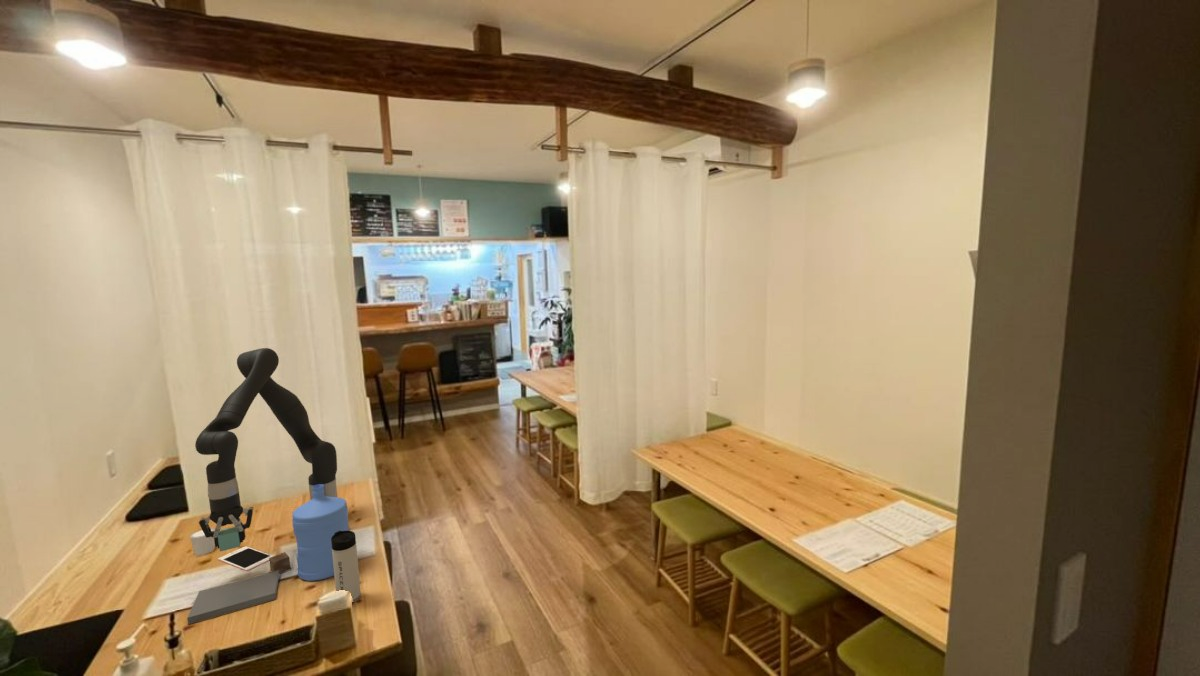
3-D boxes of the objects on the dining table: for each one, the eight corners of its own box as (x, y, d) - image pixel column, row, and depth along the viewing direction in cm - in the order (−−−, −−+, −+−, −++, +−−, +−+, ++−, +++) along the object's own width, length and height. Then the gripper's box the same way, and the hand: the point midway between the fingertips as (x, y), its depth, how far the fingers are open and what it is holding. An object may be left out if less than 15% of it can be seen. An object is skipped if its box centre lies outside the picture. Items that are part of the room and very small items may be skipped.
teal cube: (242, 539, 155) (240, 525, 155) (239, 546, 151) (237, 531, 150) (222, 544, 153) (220, 529, 152) (219, 551, 148) (217, 536, 148)
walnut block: (286, 564, 160) (284, 552, 159) (290, 569, 157) (289, 556, 156) (270, 571, 156) (269, 558, 156) (274, 575, 153) (273, 562, 153)
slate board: (279, 575, 153) (278, 570, 153) (275, 599, 141) (274, 593, 141) (200, 597, 143) (199, 591, 143) (188, 624, 131) (187, 617, 131)
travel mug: (353, 589, 144) (347, 526, 142) (365, 597, 140) (359, 532, 139) (332, 601, 139) (326, 536, 137) (343, 609, 135) (337, 542, 134)
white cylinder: (202, 557, 166) (200, 538, 166) (186, 555, 168) (184, 536, 167) (221, 547, 173) (219, 528, 172) (206, 545, 174) (204, 527, 174)
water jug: (363, 558, 162) (356, 479, 159) (322, 585, 147) (314, 498, 144) (328, 552, 167) (321, 474, 164) (286, 577, 152) (277, 493, 149)
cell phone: (245, 548, 172) (245, 545, 172) (275, 559, 164) (275, 556, 164) (217, 561, 164) (217, 558, 164) (247, 572, 156) (246, 570, 156)
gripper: (253, 483, 157) (259, 532, 159) (197, 495, 150) (204, 546, 151) (250, 491, 150) (256, 542, 152) (191, 503, 143) (199, 557, 145)
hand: (230, 544), depth 152 cm, fingers closed on teal cube, 5 cm apart
